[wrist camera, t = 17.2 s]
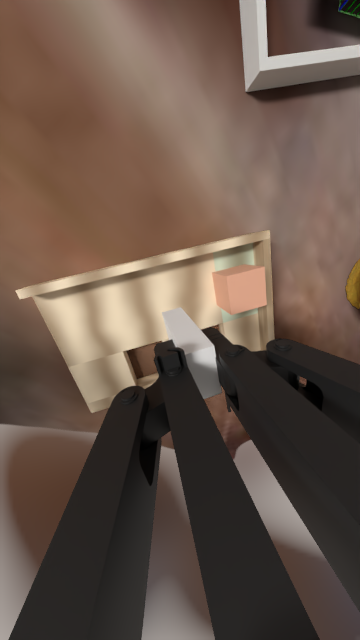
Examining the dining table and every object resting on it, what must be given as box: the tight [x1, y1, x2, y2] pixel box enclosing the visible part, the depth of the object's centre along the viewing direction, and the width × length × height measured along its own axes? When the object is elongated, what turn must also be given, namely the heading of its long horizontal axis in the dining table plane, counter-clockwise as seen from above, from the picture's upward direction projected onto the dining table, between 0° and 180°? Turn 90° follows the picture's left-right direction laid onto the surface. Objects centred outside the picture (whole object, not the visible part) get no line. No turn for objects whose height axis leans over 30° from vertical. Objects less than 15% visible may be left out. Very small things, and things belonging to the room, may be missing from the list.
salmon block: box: [212, 264, 267, 315], centre depth 27 cm, size 5×5×5 cm
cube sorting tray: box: [16, 230, 275, 413], centre depth 29 cm, size 31×21×5 cm
